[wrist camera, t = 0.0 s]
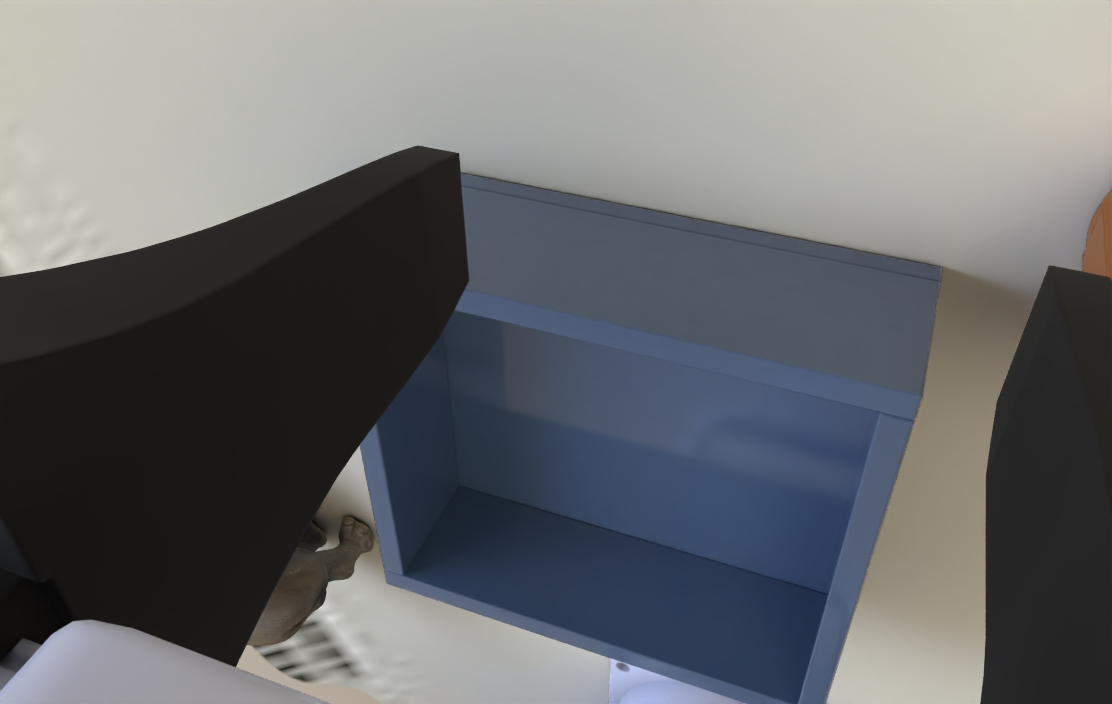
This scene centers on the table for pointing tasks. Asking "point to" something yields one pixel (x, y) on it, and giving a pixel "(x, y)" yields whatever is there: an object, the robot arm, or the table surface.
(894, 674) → the table surface
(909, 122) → the table surface
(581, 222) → the blue open tray
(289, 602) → the rhino figurine
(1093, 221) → the jar
